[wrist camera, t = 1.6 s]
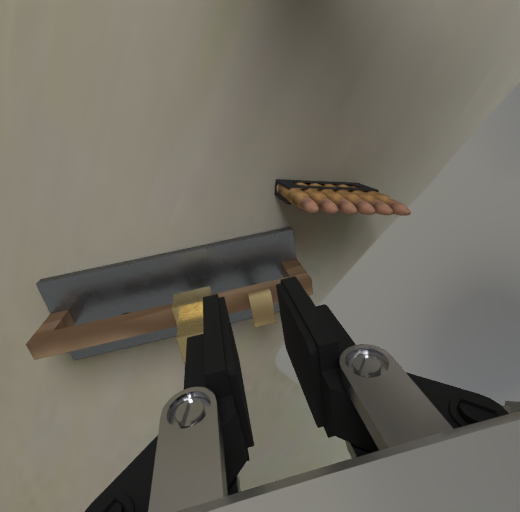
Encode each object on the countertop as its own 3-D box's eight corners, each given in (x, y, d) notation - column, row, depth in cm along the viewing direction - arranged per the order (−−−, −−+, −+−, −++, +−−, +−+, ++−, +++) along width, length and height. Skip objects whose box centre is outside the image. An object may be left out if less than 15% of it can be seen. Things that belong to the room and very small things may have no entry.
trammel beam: (50, 313, 37) (20, 350, 31) (296, 258, 40) (314, 282, 34) (64, 341, 38) (38, 382, 32) (299, 287, 42) (317, 314, 35)
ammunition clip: (359, 183, 39) (421, 203, 28) (356, 197, 40) (416, 223, 29) (275, 179, 37) (307, 199, 26) (274, 195, 38) (305, 221, 27)
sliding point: (176, 279, 38) (168, 331, 28) (209, 272, 38) (212, 321, 28) (186, 314, 40) (182, 375, 30) (217, 307, 40) (224, 364, 30)
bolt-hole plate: (40, 279, 36) (35, 284, 35) (290, 226, 40) (292, 229, 38) (77, 354, 41) (73, 360, 40) (299, 301, 44) (302, 305, 43)
